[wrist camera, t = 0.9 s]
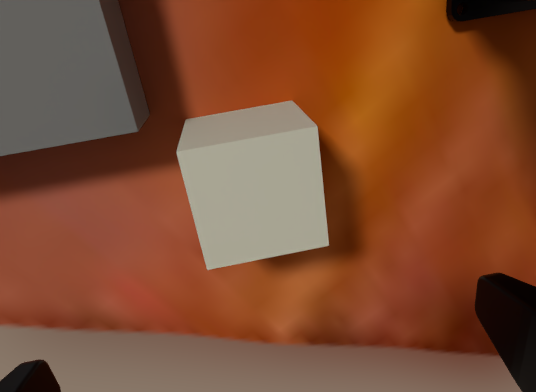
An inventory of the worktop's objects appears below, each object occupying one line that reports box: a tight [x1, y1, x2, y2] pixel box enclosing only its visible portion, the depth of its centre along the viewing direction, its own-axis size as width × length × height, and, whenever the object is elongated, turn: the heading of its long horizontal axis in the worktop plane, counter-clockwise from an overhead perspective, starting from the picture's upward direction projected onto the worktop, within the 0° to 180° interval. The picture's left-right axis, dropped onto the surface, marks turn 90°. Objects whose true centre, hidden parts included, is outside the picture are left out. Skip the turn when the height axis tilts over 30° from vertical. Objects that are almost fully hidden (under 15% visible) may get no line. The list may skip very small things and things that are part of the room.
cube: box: [176, 101, 329, 270], centre depth 17 cm, size 5×5×5 cm
